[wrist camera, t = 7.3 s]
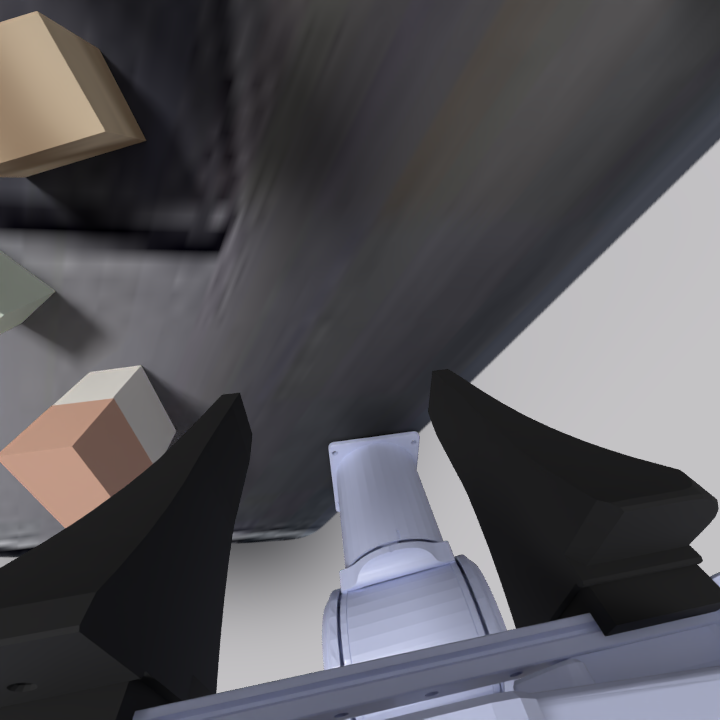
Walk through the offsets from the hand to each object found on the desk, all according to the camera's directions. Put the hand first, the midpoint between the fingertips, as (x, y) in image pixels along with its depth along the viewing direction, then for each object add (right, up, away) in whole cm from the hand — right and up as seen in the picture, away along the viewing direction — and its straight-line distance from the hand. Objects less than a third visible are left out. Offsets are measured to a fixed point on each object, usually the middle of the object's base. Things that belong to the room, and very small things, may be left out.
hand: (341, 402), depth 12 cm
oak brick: (-13, +12, +2) cm, 18 cm away
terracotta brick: (-15, -3, +7) cm, 16 cm away
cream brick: (-15, -2, +10) cm, 18 cm away
